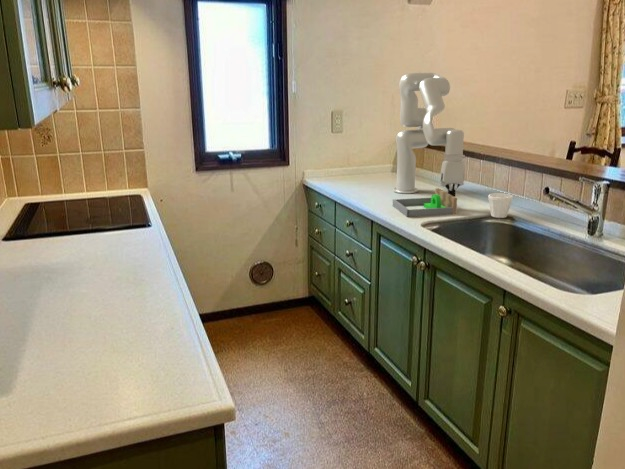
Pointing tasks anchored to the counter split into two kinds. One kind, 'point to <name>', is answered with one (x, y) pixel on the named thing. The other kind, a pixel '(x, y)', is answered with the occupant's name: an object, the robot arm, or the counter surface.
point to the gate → (447, 199)
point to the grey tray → (401, 204)
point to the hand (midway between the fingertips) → (451, 198)
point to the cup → (499, 204)
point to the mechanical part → (434, 202)
